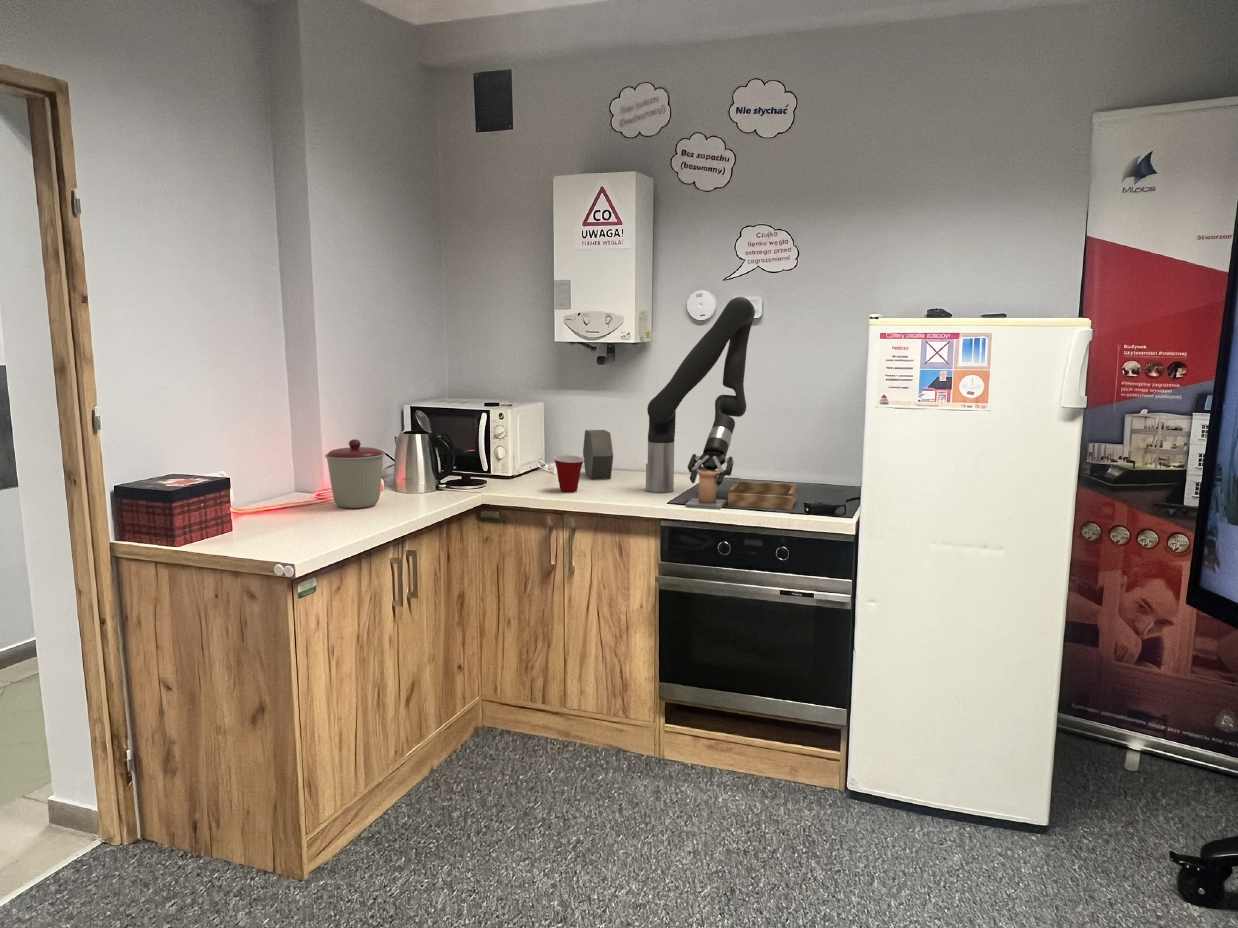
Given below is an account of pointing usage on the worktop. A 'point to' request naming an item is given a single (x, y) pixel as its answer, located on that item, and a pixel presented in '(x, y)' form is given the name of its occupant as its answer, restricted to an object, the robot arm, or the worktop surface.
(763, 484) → the wooden tray
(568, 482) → the plastic cup
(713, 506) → the slate tile
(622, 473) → the worktop surface
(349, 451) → the canister
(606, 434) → the grey hexagonal block
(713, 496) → the terracotta pot
